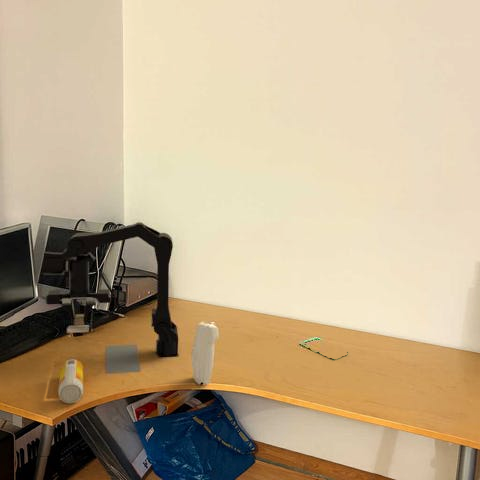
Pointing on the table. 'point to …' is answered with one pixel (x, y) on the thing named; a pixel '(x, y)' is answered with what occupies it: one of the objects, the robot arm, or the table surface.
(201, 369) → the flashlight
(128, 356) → the tool mat
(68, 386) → the yellow cylindrical bottle
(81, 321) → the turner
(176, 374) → the table surface
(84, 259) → the robot arm
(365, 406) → the table surface
